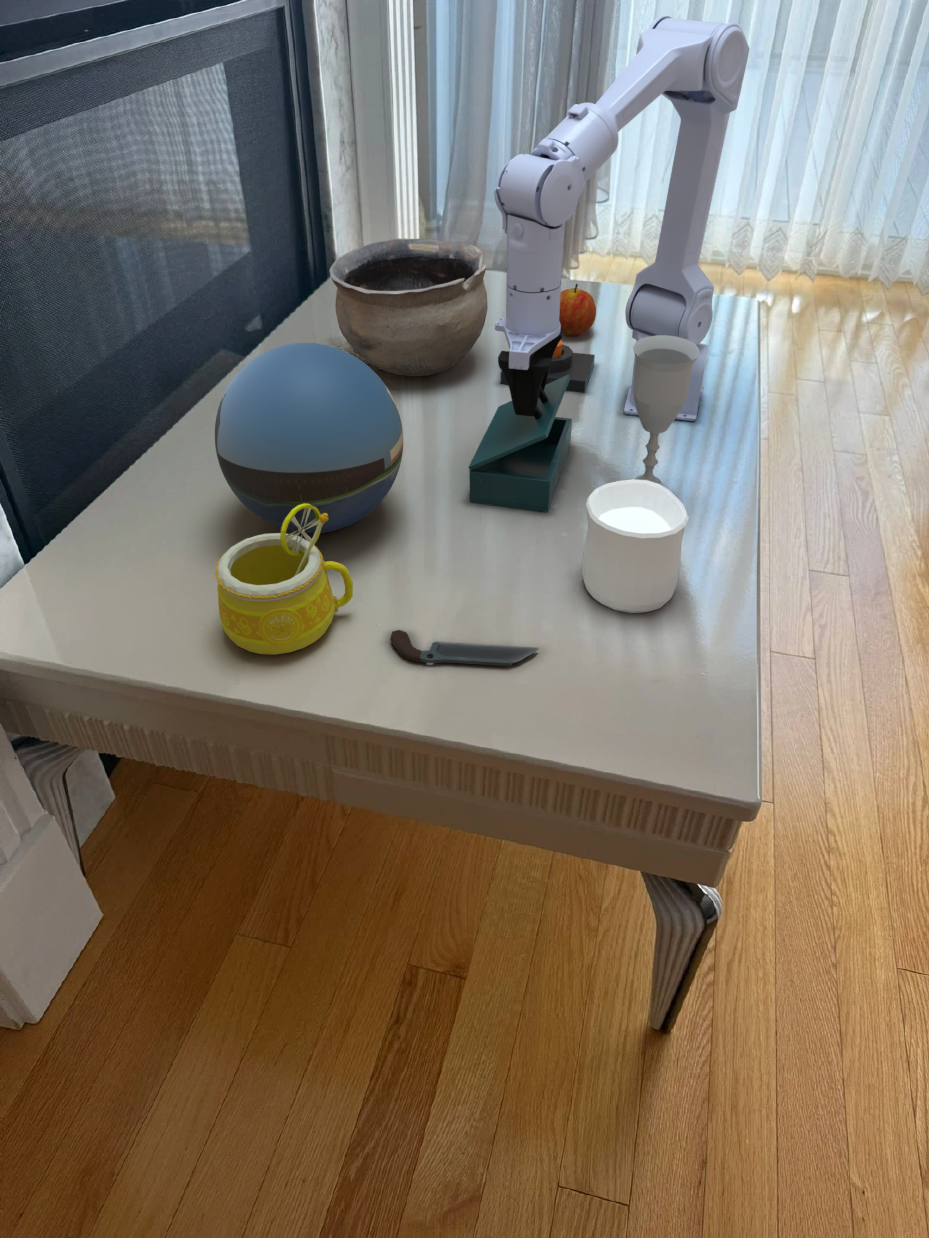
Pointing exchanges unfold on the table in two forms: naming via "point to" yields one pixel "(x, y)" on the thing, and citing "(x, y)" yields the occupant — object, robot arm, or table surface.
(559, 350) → the switch button
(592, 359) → the switch base
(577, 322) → the fruit
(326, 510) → the decorative sphere
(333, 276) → the ceramic bowl
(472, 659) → the knife
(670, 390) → the chalice
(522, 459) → the open box
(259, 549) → the mug
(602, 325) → the table surface
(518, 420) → the teal panel with handle
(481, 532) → the table surface
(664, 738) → the table surface
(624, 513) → the cup
